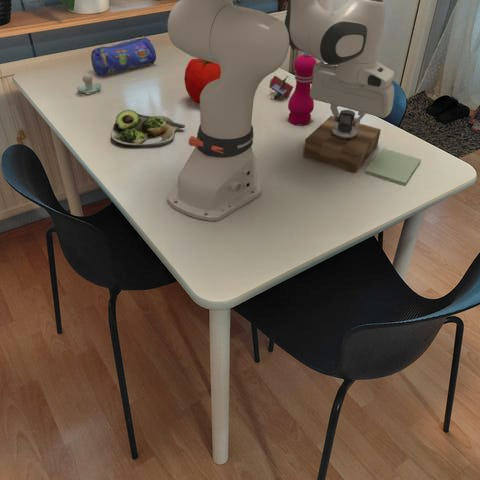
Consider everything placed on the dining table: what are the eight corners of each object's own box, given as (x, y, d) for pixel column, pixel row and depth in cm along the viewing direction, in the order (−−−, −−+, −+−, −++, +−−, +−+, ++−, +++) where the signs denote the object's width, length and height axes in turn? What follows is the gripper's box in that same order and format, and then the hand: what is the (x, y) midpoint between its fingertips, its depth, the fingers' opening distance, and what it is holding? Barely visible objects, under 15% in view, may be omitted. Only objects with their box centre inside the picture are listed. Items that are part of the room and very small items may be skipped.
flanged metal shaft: (347, 160, 127) (355, 121, 120) (324, 153, 129) (330, 114, 123) (357, 149, 131) (364, 111, 124) (334, 143, 134) (340, 105, 127)
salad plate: (186, 118, 143) (185, 103, 140) (183, 150, 130) (182, 133, 127) (118, 118, 142) (116, 103, 139) (108, 149, 129) (105, 133, 126)
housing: (354, 173, 122) (358, 155, 119) (303, 156, 128) (305, 139, 125) (377, 146, 133) (381, 129, 130) (328, 132, 138) (331, 115, 135)
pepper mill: (310, 127, 140) (319, 55, 128) (285, 124, 141) (291, 53, 129) (313, 116, 146) (322, 46, 133) (288, 113, 147) (295, 43, 134)
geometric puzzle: (300, 89, 155) (288, 66, 152) (293, 97, 150) (280, 73, 148) (282, 99, 160) (269, 77, 157) (274, 107, 155) (261, 84, 152)
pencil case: (146, 58, 178) (143, 30, 172) (160, 65, 173) (158, 37, 167) (90, 73, 167) (85, 43, 161) (103, 81, 162) (99, 51, 156)
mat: (404, 185, 119) (405, 182, 118) (364, 173, 122) (365, 170, 122) (420, 162, 127) (421, 159, 127) (382, 150, 131) (383, 148, 131)
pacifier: (74, 91, 155) (80, 98, 152) (70, 71, 152) (76, 77, 148) (97, 86, 159) (104, 93, 155) (93, 67, 155) (100, 73, 151)
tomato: (195, 90, 158) (193, 47, 149) (232, 97, 155) (233, 53, 146) (178, 106, 148) (175, 61, 140) (217, 113, 145) (217, 68, 137)
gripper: (309, 63, 118) (302, 117, 127) (392, 83, 110) (380, 139, 119) (320, 55, 123) (313, 108, 131) (401, 74, 115) (388, 129, 123)
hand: (345, 123), depth 125 cm, fingers closed on flanged metal shaft, 4 cm apart
